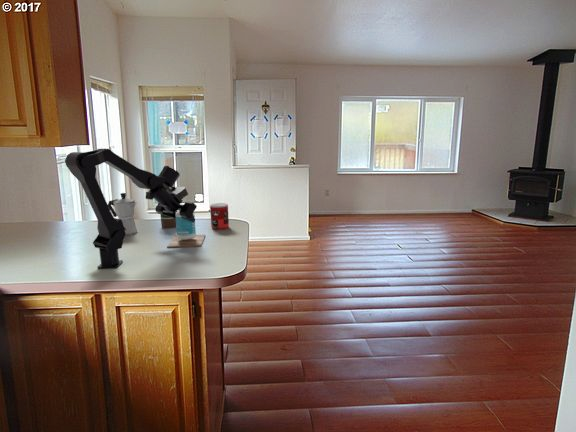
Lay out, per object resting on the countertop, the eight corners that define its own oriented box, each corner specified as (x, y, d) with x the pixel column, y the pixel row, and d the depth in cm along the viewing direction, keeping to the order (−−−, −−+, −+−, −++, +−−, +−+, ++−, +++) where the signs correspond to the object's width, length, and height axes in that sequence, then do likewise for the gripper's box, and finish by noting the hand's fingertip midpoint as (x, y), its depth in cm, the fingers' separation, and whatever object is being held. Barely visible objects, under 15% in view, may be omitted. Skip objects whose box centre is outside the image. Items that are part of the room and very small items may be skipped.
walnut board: (201, 246, 157) (201, 245, 157) (167, 247, 156) (167, 246, 156) (205, 235, 173) (205, 234, 172) (174, 236, 171) (174, 235, 171)
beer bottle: (161, 225, 193) (157, 175, 188) (178, 223, 195) (174, 174, 190) (161, 228, 186) (157, 177, 180) (178, 227, 188) (175, 176, 183)
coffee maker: (145, 231, 182) (141, 191, 178) (133, 236, 174) (129, 195, 170) (117, 229, 186) (113, 191, 182) (104, 234, 178) (99, 194, 174)
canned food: (209, 227, 188) (208, 204, 185) (226, 225, 191) (225, 202, 188) (213, 230, 181) (212, 206, 178) (231, 228, 184) (229, 205, 182)
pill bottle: (197, 238, 162) (195, 205, 159) (178, 241, 159) (176, 207, 156) (193, 234, 168) (191, 203, 166) (175, 236, 165) (173, 204, 163)
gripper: (191, 182, 150) (213, 206, 162) (159, 179, 161) (182, 202, 172) (176, 206, 146) (200, 229, 157) (144, 201, 156) (168, 223, 167)
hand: (187, 220), depth 163 cm, fingers closed on pill bottle, 7 cm apart
